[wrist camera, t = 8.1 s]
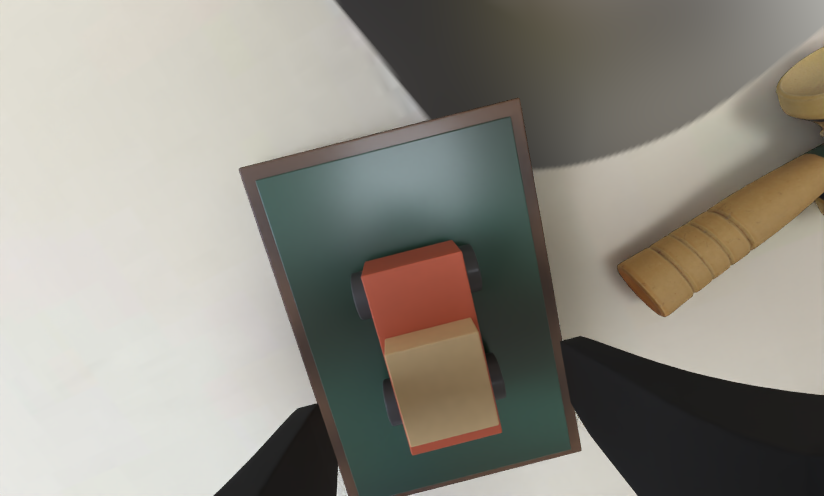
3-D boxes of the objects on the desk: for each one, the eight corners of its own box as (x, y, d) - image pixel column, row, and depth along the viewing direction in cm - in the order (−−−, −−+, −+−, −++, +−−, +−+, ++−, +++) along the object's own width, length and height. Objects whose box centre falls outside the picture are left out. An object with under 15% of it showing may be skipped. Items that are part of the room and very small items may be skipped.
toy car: (498, 388, 17) (530, 452, 13) (394, 414, 17) (396, 487, 13) (464, 232, 15) (489, 254, 12) (350, 261, 15) (337, 292, 12)
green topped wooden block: (558, 416, 21) (586, 457, 18) (357, 468, 21) (351, 517, 18) (501, 106, 17) (523, 95, 15) (259, 167, 17) (233, 168, 14)
